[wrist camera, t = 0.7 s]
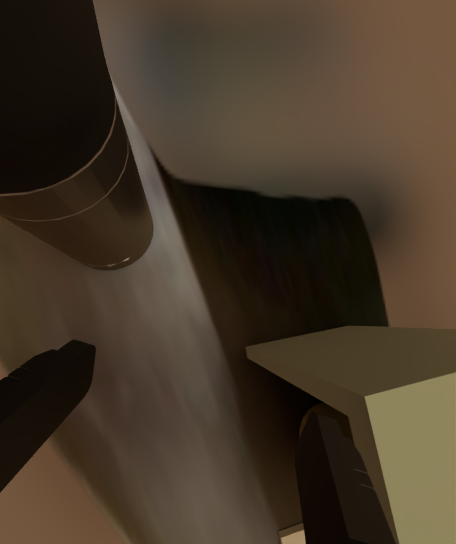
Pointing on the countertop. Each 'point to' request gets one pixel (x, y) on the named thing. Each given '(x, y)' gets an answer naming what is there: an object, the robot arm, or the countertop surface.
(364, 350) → the shelf nook
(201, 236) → the countertop surface
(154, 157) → the countertop surface
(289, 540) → the tile
